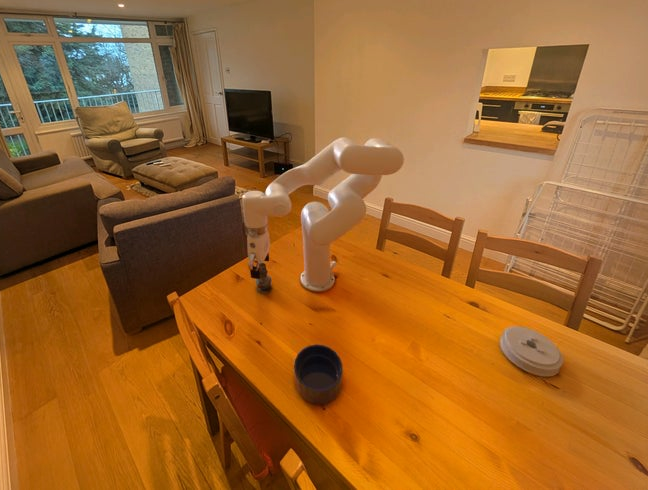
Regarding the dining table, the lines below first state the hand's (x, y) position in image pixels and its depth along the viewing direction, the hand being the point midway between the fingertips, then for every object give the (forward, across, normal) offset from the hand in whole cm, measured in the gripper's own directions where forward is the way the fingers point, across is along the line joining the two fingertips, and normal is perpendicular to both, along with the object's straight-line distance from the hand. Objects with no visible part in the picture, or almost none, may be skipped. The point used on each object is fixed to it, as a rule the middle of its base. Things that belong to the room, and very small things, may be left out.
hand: (260, 268), depth 104 cm
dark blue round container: (+9, -29, -25) cm, 40 cm away
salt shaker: (+9, 0, -1) cm, 9 cm away
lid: (+8, -10, -79) cm, 80 cm away
